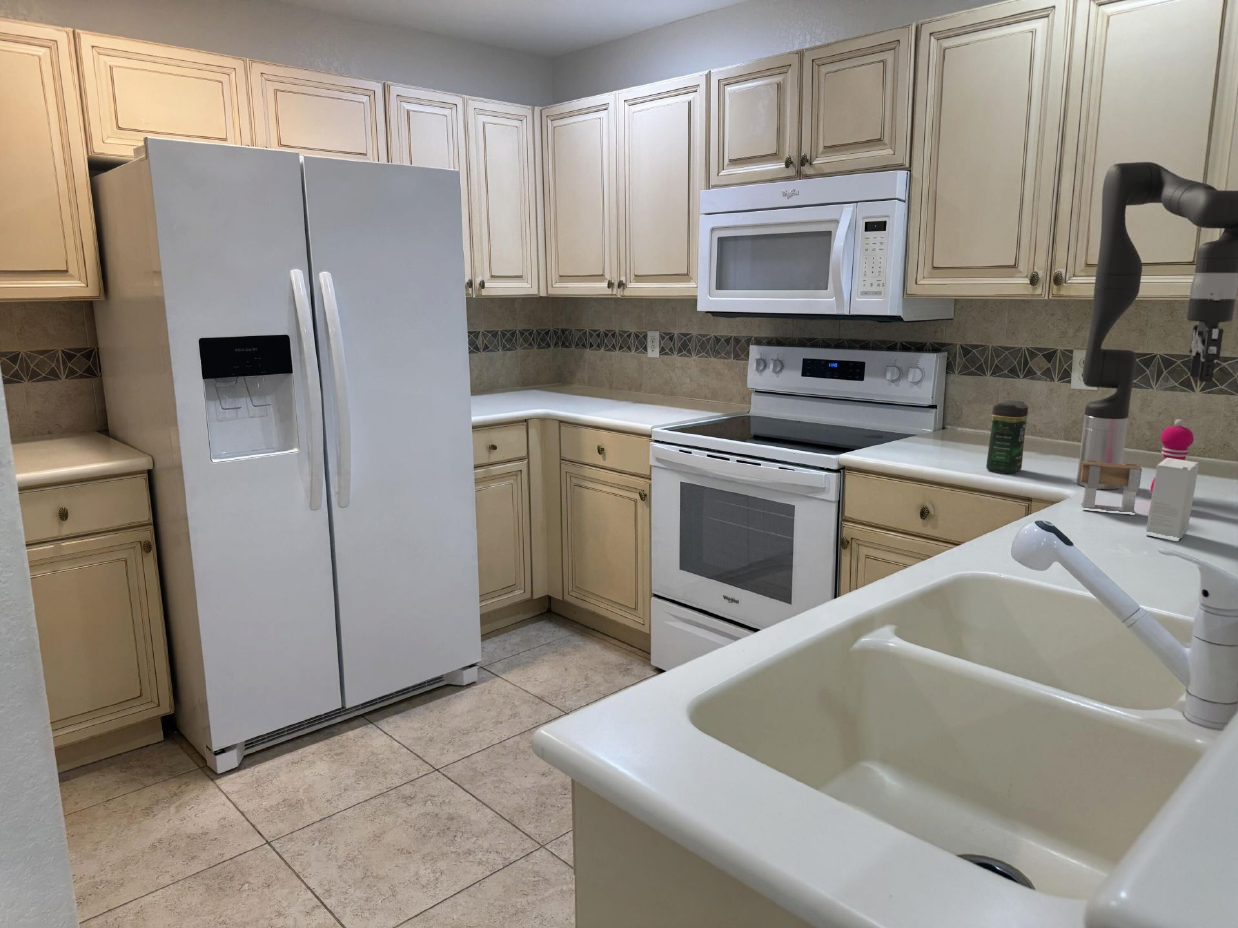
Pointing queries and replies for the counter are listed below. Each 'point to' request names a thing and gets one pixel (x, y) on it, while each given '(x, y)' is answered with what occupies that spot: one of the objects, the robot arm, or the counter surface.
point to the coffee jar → (1007, 437)
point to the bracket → (1128, 493)
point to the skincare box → (1172, 497)
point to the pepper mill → (1175, 442)
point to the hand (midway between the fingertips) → (1200, 379)
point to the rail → (1109, 473)
